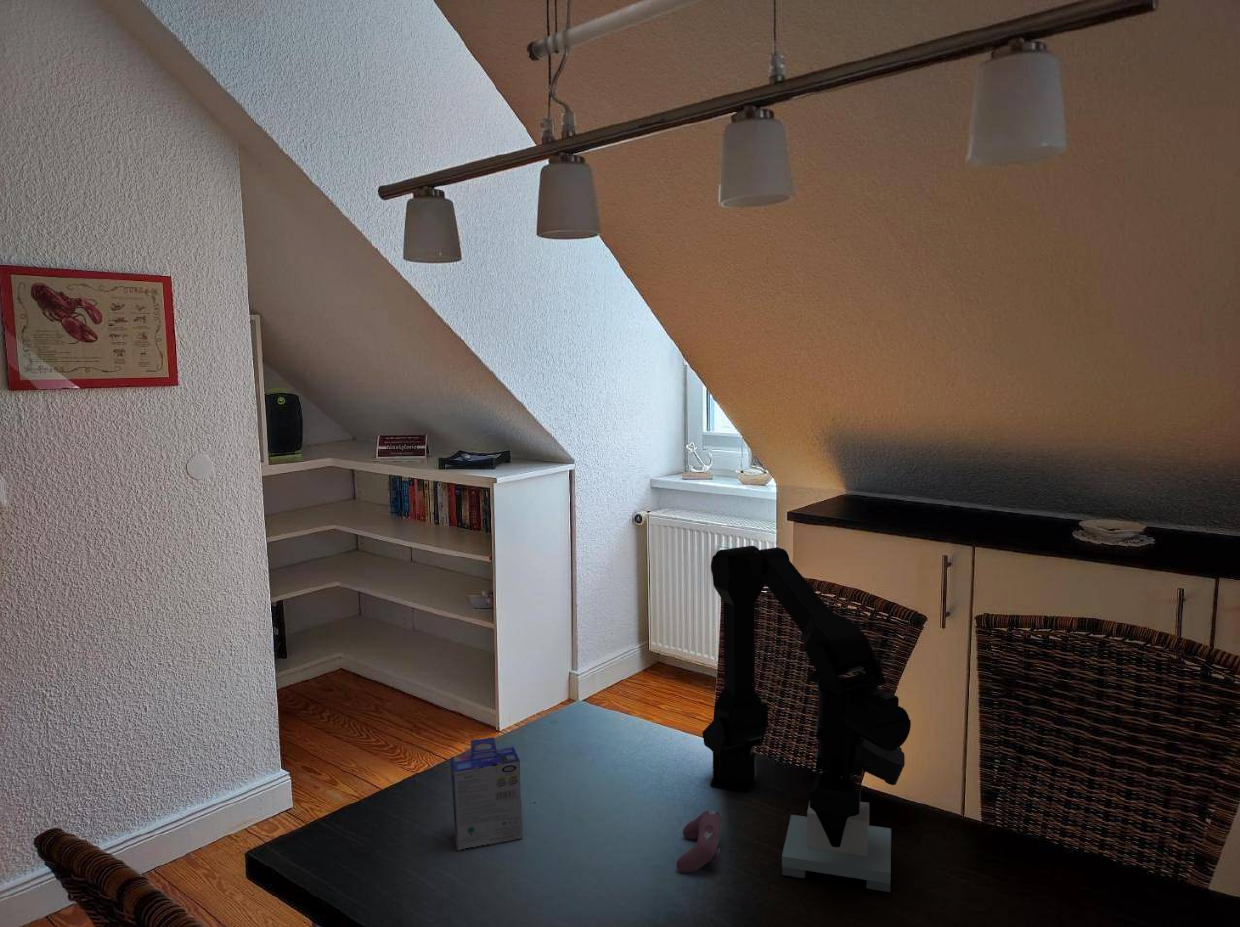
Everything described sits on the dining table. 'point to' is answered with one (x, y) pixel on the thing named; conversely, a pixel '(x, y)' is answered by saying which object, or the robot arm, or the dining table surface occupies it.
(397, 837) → the dining table surface
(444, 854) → the dining table surface
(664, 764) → the dining table surface
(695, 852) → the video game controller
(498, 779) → the ink cartridge box
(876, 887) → the teal stand
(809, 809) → the grey housing
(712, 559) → the robot arm
